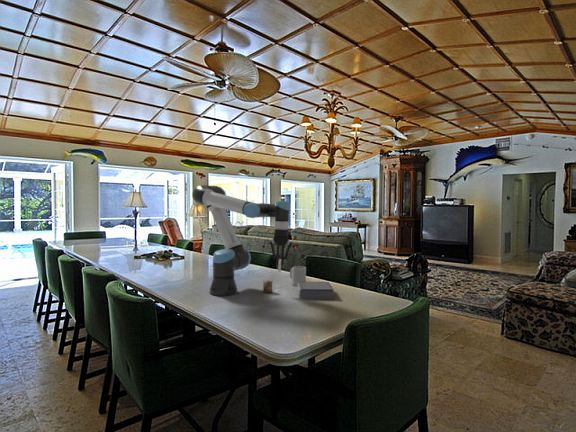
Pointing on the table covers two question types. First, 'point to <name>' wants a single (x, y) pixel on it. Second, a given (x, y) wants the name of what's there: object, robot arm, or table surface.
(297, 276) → the mug
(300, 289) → the tray
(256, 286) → the table surface
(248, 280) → the table surface
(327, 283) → the housing
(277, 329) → the table surface
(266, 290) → the brown rounded cylinder
